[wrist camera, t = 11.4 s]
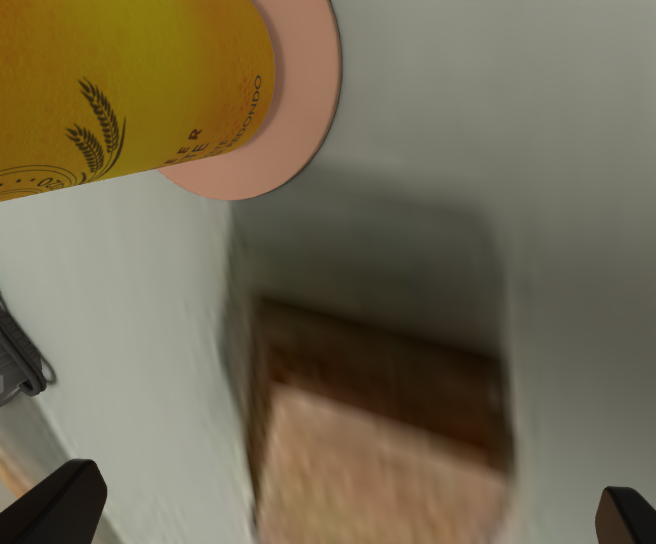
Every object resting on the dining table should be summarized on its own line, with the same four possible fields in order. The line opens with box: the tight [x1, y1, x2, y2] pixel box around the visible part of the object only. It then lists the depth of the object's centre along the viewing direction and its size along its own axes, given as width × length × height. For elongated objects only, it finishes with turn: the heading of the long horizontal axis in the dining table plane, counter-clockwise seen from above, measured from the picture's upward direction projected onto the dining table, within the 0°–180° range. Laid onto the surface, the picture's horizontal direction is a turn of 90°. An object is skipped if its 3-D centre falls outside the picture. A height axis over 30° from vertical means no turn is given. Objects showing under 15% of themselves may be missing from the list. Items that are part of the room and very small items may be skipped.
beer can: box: [0, 0, 275, 202], centre depth 12 cm, size 6×6×15 cm
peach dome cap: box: [157, 0, 342, 200], centre depth 19 cm, size 10×10×1 cm
